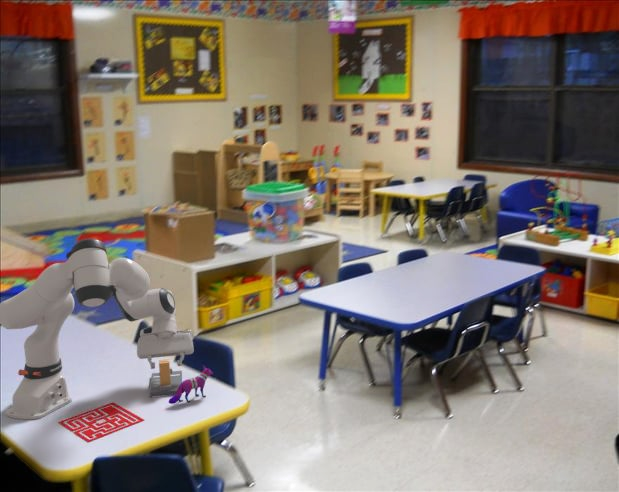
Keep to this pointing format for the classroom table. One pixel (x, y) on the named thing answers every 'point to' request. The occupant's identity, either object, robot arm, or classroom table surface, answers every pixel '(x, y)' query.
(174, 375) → the fader board
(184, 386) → the purple fox figurine
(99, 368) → the classroom table surface
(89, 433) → the maze puzzle
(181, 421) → the classroom table surface
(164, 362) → the fader cap
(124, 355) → the classroom table surface
